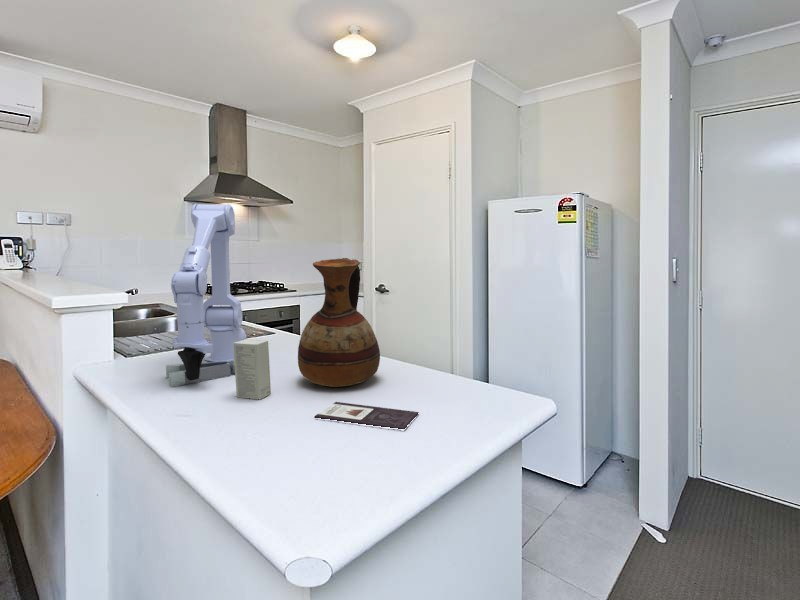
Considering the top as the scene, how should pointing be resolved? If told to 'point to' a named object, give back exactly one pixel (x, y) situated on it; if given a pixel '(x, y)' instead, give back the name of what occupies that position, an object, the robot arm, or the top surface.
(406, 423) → the chocolate bar
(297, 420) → the top surface
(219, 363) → the bar
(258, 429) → the top surface
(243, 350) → the skincare box
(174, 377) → the tongs moving leg
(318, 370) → the ceramic pitcher
